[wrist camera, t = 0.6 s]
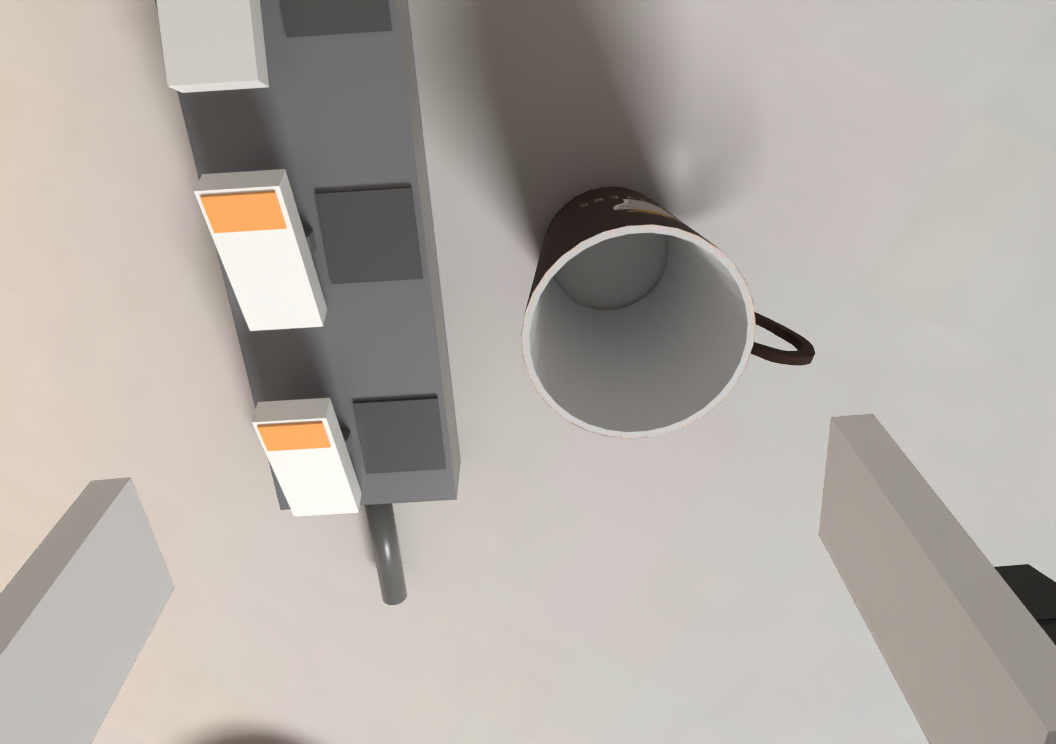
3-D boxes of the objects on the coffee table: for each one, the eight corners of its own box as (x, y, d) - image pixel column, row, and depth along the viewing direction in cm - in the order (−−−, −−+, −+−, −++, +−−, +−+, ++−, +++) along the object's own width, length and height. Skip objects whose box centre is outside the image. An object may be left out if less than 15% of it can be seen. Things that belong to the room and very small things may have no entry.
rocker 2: (202, 174, 30) (192, 193, 29) (285, 169, 30) (278, 188, 29) (255, 313, 35) (249, 333, 34) (326, 308, 35) (322, 328, 34)
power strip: (160, -129, 31) (108, -144, 27) (390, -144, 30) (372, -162, 27) (322, 582, 47) (305, 638, 43) (473, 574, 47) (470, 629, 43)
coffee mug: (482, 264, 38) (474, 353, 29) (602, 122, 35) (633, 173, 26) (655, 397, 42) (694, 513, 33) (777, 278, 39) (856, 369, 30)
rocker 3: (257, 401, 35) (251, 424, 34) (330, 397, 35) (325, 420, 34) (298, 496, 40) (293, 518, 39) (361, 492, 40) (358, 514, 39)
